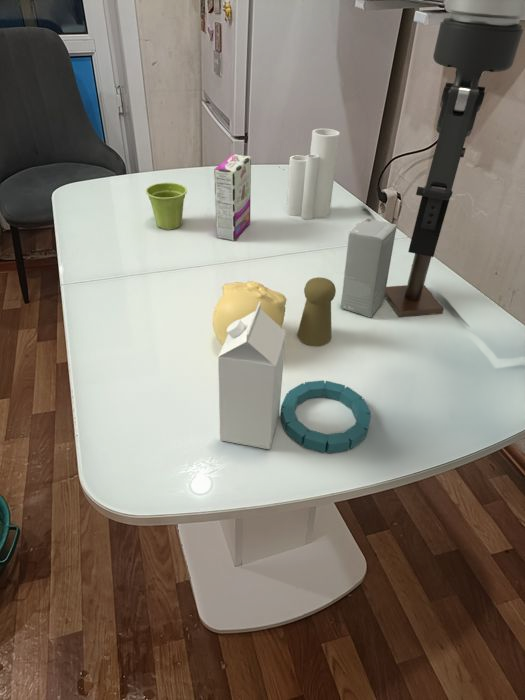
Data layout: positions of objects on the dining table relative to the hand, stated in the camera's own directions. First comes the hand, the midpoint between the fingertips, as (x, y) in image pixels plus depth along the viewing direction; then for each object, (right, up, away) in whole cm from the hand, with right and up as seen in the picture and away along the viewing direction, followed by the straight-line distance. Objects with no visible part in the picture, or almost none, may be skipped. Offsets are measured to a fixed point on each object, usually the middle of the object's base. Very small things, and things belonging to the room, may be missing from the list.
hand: (427, 229), depth 61 cm
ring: (-11, -25, +13) cm, 30 cm away
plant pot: (-42, +16, +63) cm, 78 cm away
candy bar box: (-27, +14, +62) cm, 69 cm away
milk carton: (-21, -26, +11) cm, 35 cm away
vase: (-8, +21, +72) cm, 75 cm away
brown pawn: (-11, -12, +29) cm, 34 cm away
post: (+9, -5, +39) cm, 41 cm away
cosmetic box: (-1, -6, +38) cm, 39 cm away
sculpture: (-22, -13, +27) cm, 38 cm away
